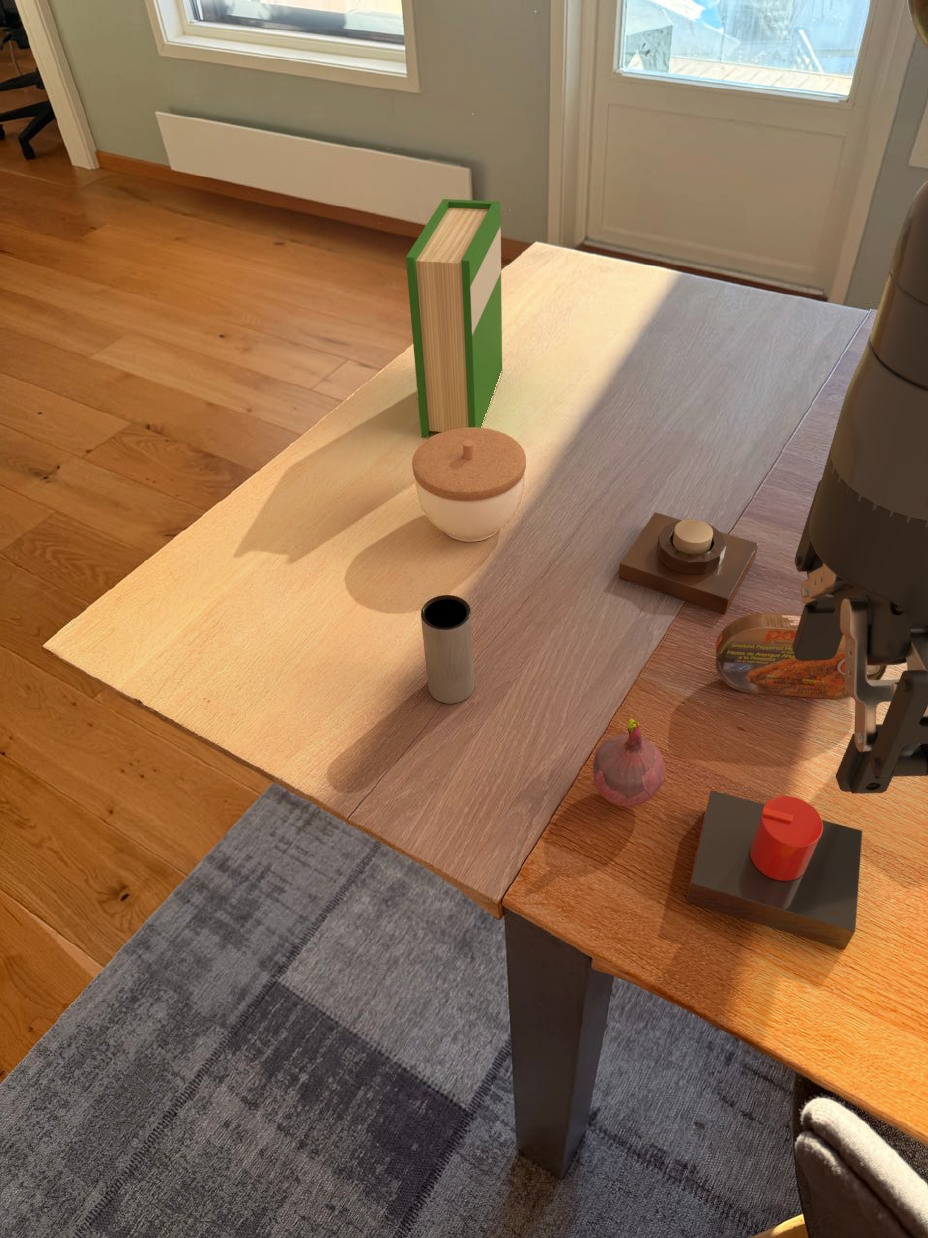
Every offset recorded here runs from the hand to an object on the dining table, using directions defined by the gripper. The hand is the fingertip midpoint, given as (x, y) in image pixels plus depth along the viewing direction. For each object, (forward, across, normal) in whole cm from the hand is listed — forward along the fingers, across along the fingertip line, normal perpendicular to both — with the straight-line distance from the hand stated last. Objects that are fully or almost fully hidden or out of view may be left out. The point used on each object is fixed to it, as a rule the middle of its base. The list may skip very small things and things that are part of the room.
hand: (833, 716), depth 47 cm
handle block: (+30, +7, -4) cm, 31 cm away
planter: (+30, +28, +22) cm, 47 cm away
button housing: (+30, +44, -4) cm, 54 cm away
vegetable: (+30, +15, +7) cm, 34 cm away
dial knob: (+27, +7, -4) cm, 28 cm away
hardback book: (+30, +80, +21) cm, 88 cm away
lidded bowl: (+30, +53, +20) cm, 65 cm away
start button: (+26, +44, -4) cm, 52 cm away
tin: (+30, +27, -10) cm, 42 cm away
